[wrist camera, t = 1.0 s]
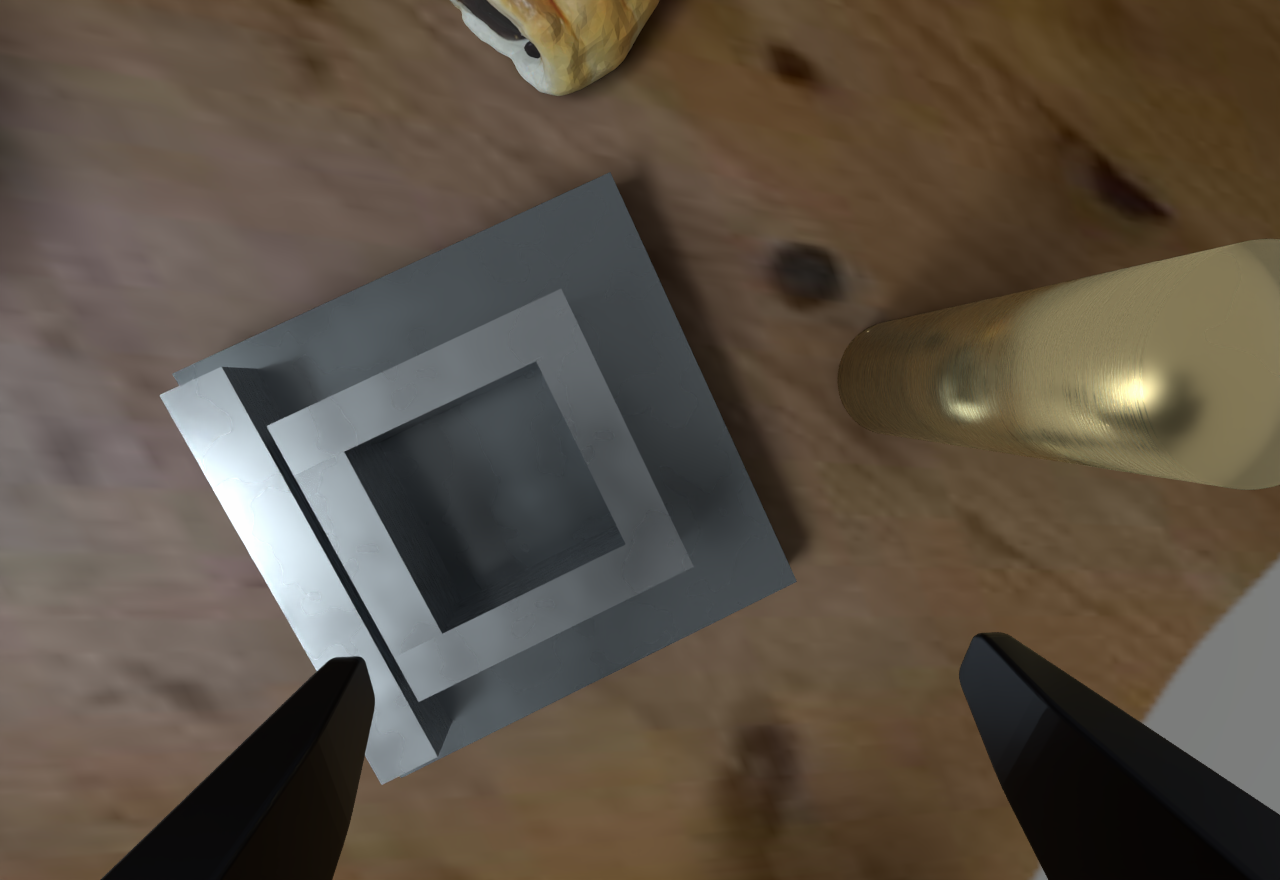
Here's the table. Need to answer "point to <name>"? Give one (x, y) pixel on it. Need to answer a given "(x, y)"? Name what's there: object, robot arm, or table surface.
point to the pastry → (559, 36)
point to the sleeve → (1095, 370)
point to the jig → (485, 475)
